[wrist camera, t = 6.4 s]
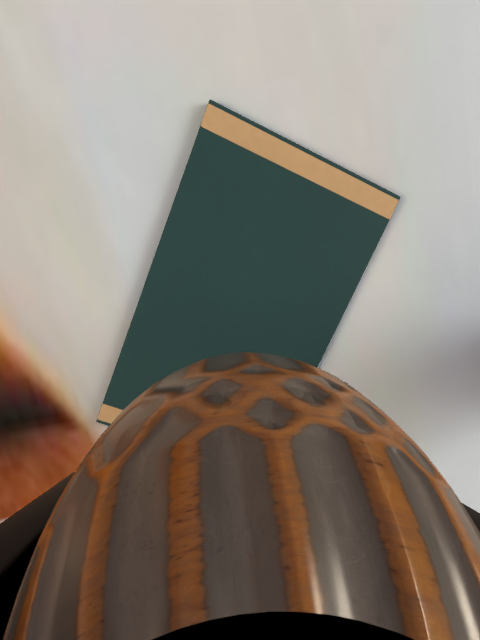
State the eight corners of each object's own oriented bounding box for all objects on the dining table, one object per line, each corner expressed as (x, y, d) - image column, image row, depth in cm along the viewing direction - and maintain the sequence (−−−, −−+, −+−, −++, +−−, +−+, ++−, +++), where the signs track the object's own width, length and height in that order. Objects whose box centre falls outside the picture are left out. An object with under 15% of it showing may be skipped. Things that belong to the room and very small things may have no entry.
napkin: (397, 197, 17) (401, 196, 16) (264, 471, 20) (265, 474, 20) (209, 102, 15) (209, 98, 15) (98, 419, 18) (95, 422, 18)
